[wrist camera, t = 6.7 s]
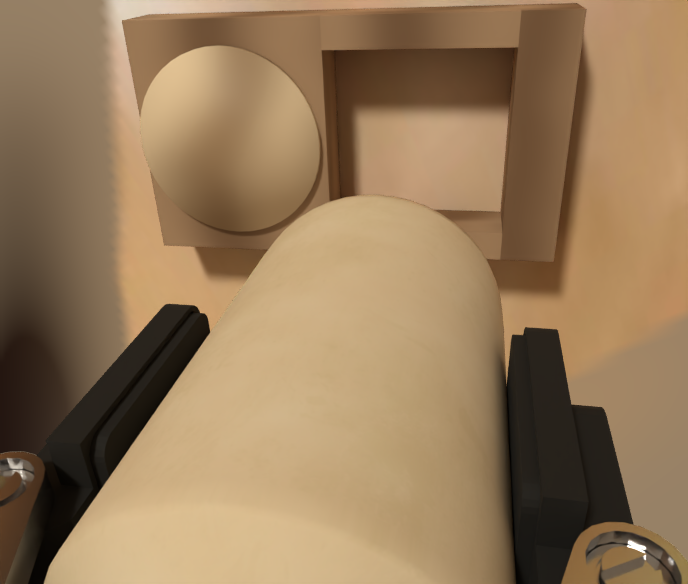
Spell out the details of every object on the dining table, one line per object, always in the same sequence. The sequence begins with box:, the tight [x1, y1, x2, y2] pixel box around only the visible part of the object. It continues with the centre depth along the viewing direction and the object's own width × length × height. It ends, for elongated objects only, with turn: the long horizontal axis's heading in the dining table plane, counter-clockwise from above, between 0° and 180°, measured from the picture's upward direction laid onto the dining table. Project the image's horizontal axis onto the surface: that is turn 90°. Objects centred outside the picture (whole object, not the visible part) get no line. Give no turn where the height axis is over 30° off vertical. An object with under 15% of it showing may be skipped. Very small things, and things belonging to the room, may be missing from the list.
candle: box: [44, 195, 516, 584], centre depth 10 cm, size 6×6×10 cm
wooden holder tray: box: [122, 3, 586, 262], centre depth 28 cm, size 18×10×3 cm, turn 92°
